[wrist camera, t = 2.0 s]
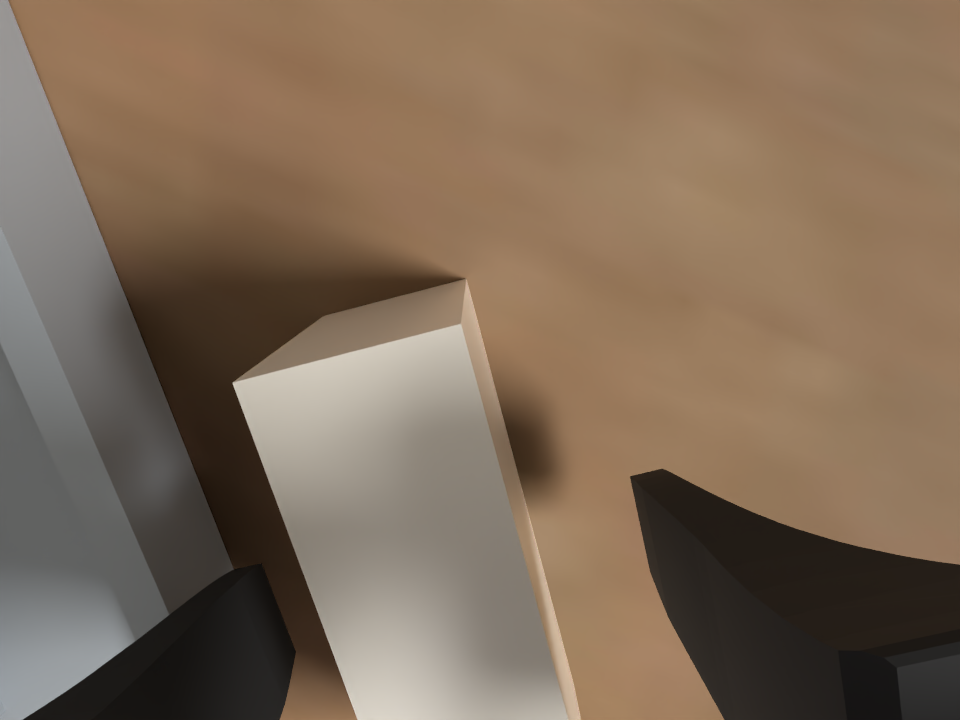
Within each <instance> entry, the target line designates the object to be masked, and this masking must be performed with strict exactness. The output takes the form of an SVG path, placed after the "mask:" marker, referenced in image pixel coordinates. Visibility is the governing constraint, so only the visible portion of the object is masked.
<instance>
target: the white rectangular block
mask: <svg viewBox="0 0 960 720" xmlns="http://www.w3.org/2000/svg"><path fill="white" fill-rule="evenodd" d="M233 386H234V389H235V391H236V394H237V397H238V399H239V402H240V405H241V407H242V410H243V413H244V415H245V418H246V421H247V424H248V426H249V429H250V432H251V434H252V437H253V440H254V442H255V445H256V448H257V450H258V453H259V456H260V459H261V461H262V464H263V467H264V469H265V472H266V475H267V477H268V480H269V483H270V485H271V488H272V491H273V494H274V496H275V499H276V502H277V504H278V507H279V510H280V512H281V515H282V518H283V520H284V523H285V526H286V528H287V531H288V534H289V537H290V539H291V542H292V545H293V547H294V550H295V553H296V555H297V558H298V561H299V563H300V566H301V569H302V572H303V574H304V577H305V580H306V582H307V585H308V588H309V590H310V593H311V596H312V598H313V601H314V604H315V607H316V609H317V612H318V615H319V617H320V620H321V623H322V625H323V628H324V631H325V633H326V636H327V639H328V642H329V644H330V647H331V650H332V652H333V655H334V658H335V660H336V663H337V666H338V668H339V671H340V674H341V676H342V679H343V682H344V685H345V687H346V690H347V693H348V695H349V698H350V701H351V703H352V706H353V709H354V711H355V714H356V717H357V720H581V717H580V712H579V707H578V703H577V698H576V693H575V688H574V684H573V680H572V676H571V672H570V669H569V665H568V661H567V657H566V653H565V650H564V646H563V642H562V638H561V635H560V631H559V627H558V623H557V619H556V616H555V612H554V608H553V604H552V601H551V597H550V593H549V589H548V585H547V582H546V578H545V574H544V570H543V567H542V563H541V559H540V555H539V551H538V548H537V544H536V540H535V536H534V533H533V529H532V525H531V521H530V517H529V514H528V510H527V506H526V502H525V499H524V495H523V491H522V487H521V483H520V480H519V476H518V472H517V468H516V465H515V461H514V457H513V453H512V449H511V446H510V442H509V438H508V434H507V431H506V427H505V423H504V419H503V415H502V412H501V408H500V404H499V400H498V397H497V393H496V389H495V385H494V381H493V378H492V374H491V370H490V366H489V362H488V359H487V355H486V351H485V347H484V344H483V340H482V336H481V332H480V328H479V325H478V321H477V317H476V313H475V310H474V306H473V302H472V298H471V294H470V291H469V287H468V283H467V279H463V280H459V281H456V282H452V283H448V284H444V285H440V286H437V287H433V288H429V289H425V290H421V291H417V292H414V293H410V294H406V295H402V296H398V297H394V298H391V299H387V300H383V301H379V302H375V303H372V304H368V305H364V306H360V307H356V308H352V309H349V310H345V311H341V312H337V313H333V314H329V315H326V316H323V317H321V318H320V319H319V320H317V321H316V322H315V323H313V324H312V325H310V326H309V327H308V328H306V329H305V330H304V331H302V332H301V333H299V334H298V335H297V336H295V337H294V338H293V339H291V340H290V341H289V342H287V343H286V344H284V345H283V346H282V347H280V348H279V349H278V350H276V351H275V352H274V353H272V354H271V355H269V356H268V357H267V358H265V359H264V360H263V361H261V362H260V363H258V364H257V365H256V366H254V367H253V368H252V369H250V370H249V371H248V372H246V373H245V374H243V375H242V376H241V377H239V378H238V379H237V380H235V381H234V382H233Z"/></svg>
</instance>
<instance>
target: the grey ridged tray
mask: <svg viewBox="0 0 960 720" xmlns="http://www.w3.org/2000/svg"><path fill="white" fill-rule="evenodd" d="M231 570H234V569H233V566H232V564H231V561H230V558H229V556H228V553H227V551H226V548H225V546H224V543H223V541H222V538H221V536H220V533H219V531H218V528H217V526H216V523H215V521H214V518H213V516H212V513H211V511H210V508H209V506H208V503H207V501H206V498H205V495H204V493H203V490H202V488H201V485H200V483H199V480H198V478H197V475H196V473H195V470H194V468H193V465H192V463H191V460H190V458H189V455H188V453H187V450H186V448H185V445H184V443H183V440H182V438H181V435H180V432H179V430H178V427H177V425H176V422H175V420H174V417H173V415H172V412H171V410H170V407H169V405H168V402H167V400H166V397H165V395H164V392H163V390H162V387H161V385H160V382H159V380H158V377H157V375H156V372H155V369H154V367H153V364H152V362H151V359H150V357H149V354H148V352H147V349H146V347H145V344H144V342H143V339H142V337H141V334H140V332H139V329H138V327H137V324H136V322H135V319H134V317H133V314H132V312H131V309H130V306H129V304H128V301H127V299H126V296H125V294H124V291H123V289H122V286H121V284H120V281H119V279H118V276H117V274H116V271H115V269H114V266H113V264H112V261H111V259H110V256H109V254H108V251H107V249H106V246H105V244H104V241H103V238H102V236H101V233H100V231H99V228H98V226H97V223H96V221H95V218H94V216H93V213H92V211H91V208H90V206H89V203H88V201H87V198H86V196H85V193H84V191H83V188H82V186H81V183H80V181H79V178H78V175H77V173H76V170H75V168H74V165H73V163H72V160H71V158H70V155H69V153H68V150H67V148H66V145H65V143H64V140H63V138H62V135H61V133H60V130H59V128H58V125H57V123H56V120H55V118H54V115H53V112H52V110H51V107H50V105H49V102H48V100H47V97H46V95H45V92H44V90H43V87H42V85H41V82H40V80H39V77H38V75H37V72H36V70H35V67H34V65H33V62H32V60H31V57H30V55H29V52H28V49H27V47H26V44H25V42H24V39H23V37H22V34H21V32H20V29H19V27H18V24H17V22H16V19H15V17H14V14H13V12H12V9H11V7H10V4H9V2H8V0H0V720H23V719H24V718H26V717H27V716H29V715H30V714H32V713H34V712H35V711H37V710H38V709H40V708H41V707H43V706H45V705H46V704H48V703H49V702H51V701H52V700H54V699H55V698H57V697H58V696H60V695H61V694H63V693H64V692H66V691H67V690H69V689H70V688H72V687H73V686H75V685H76V684H77V683H79V682H80V681H82V680H83V679H85V678H86V677H87V676H89V675H90V674H91V673H93V672H94V671H95V670H97V669H98V668H100V667H101V666H102V665H104V664H105V663H106V662H108V661H109V660H110V659H112V658H113V657H114V656H116V655H117V654H119V653H120V652H121V651H123V650H124V649H125V648H127V647H128V646H129V645H131V644H132V643H133V642H135V641H136V640H137V639H139V638H140V637H141V636H143V635H144V634H145V633H147V632H148V631H149V630H150V629H152V628H153V627H154V626H156V625H157V624H158V623H159V622H161V621H162V620H163V619H165V618H166V617H167V616H168V615H170V614H171V613H172V612H174V611H175V610H176V609H177V608H179V607H180V606H181V605H183V604H184V603H185V602H187V601H188V600H189V599H190V598H192V597H193V596H194V595H196V594H197V593H198V592H200V591H201V590H202V589H204V588H205V587H207V586H208V585H209V584H211V583H212V582H214V581H215V580H216V579H218V578H220V577H221V576H223V575H224V574H226V573H228V572H230V571H231Z"/></svg>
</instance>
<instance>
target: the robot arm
mask: <svg viewBox="0 0 960 720" xmlns="http://www.w3.org/2000/svg"><path fill="white" fill-rule="evenodd" d="M630 478H631V483H632V488H633V493H634V497H635V502H636V507H637V512H638V516H639V521H640V526H641V531H642V535H643V540H644V545H645V549H646V554H647V559H648V564H649V568H650V572H651V575H652V577H653V580H654V582H655V585H656V588H657V590H658V593H659V595H660V598H661V600H662V603H663V605H664V608H665V610H666V612H667V615H668V617H669V619H670V621H671V623H672V625H673V627H674V629H675V631H676V632H677V634H678V636H679V638H680V640H681V642H682V643H683V645H684V647H685V649H686V651H687V653H688V654H689V656H690V658H691V660H692V662H693V663H694V665H695V667H696V669H697V671H698V672H699V674H700V676H701V678H702V680H703V681H704V683H705V685H706V687H707V689H708V691H709V692H710V694H711V696H712V698H713V700H714V701H715V703H716V705H717V707H718V709H719V710H720V712H721V714H722V716H723V718H724V719H725V720H960V565H957V564H950V563H942V562H935V561H929V560H923V559H917V558H911V557H905V556H900V555H895V554H890V553H886V552H881V551H876V550H872V549H867V548H862V547H858V546H854V545H850V544H846V543H842V542H838V541H834V540H831V539H828V538H824V537H821V536H818V535H814V534H811V533H808V532H805V531H801V530H798V529H795V528H792V527H789V526H787V525H784V524H781V523H778V522H776V521H773V520H771V519H768V518H766V517H763V516H761V515H758V514H756V513H753V512H751V511H748V510H746V509H744V508H742V507H739V506H737V505H735V504H733V503H730V502H728V501H726V500H724V499H722V498H720V497H718V496H716V495H714V494H712V493H710V492H708V491H706V490H704V489H702V488H700V487H698V486H696V485H694V484H692V483H690V482H688V481H686V480H684V479H682V478H680V477H678V476H677V475H675V474H673V473H671V472H669V471H666V470H664V469H659V470H655V471H651V472H647V473H642V474H638V475H634V476H630ZM295 653H296V651H295V649H294V646H293V643H292V641H291V638H290V636H289V633H288V630H287V628H286V625H285V623H284V620H283V618H282V615H281V612H280V610H279V607H278V605H277V602H276V599H275V597H274V594H273V592H272V589H271V586H270V584H269V581H268V579H267V576H266V574H265V571H264V568H263V566H262V563H261V564H256V565H252V566H248V567H244V568H239V569H235V570H231V571H230V572H228V573H226V574H224V575H223V576H221V577H220V578H218V579H216V580H215V581H214V582H212V583H211V584H209V585H208V586H207V587H205V588H204V589H202V590H201V591H200V592H198V593H197V594H196V595H194V596H193V597H192V598H190V599H189V600H188V601H187V602H185V603H184V604H183V605H181V606H180V607H179V608H177V609H176V610H175V611H174V612H172V613H171V614H170V615H168V616H167V617H166V618H165V619H163V620H162V621H161V622H159V623H158V624H157V625H156V626H154V627H153V628H152V629H150V630H149V631H148V632H147V633H145V634H144V635H143V636H141V637H140V638H139V639H137V640H136V641H135V642H133V643H132V644H131V645H129V646H128V647H127V648H125V649H124V650H123V651H121V652H120V653H119V654H117V655H116V656H114V657H113V658H112V659H110V660H109V661H108V662H106V663H105V664H104V665H102V666H101V667H100V668H98V669H97V670H95V671H94V672H93V673H91V674H90V675H89V676H87V677H86V678H85V679H83V680H82V681H80V682H79V683H77V684H76V685H75V686H73V687H72V688H70V689H69V690H67V691H66V692H64V693H63V694H61V695H60V696H58V697H57V698H55V699H54V700H52V701H51V702H49V703H48V704H46V705H45V706H43V707H41V708H40V709H38V710H37V711H35V712H34V713H32V714H30V715H29V716H27V717H26V718H24V719H23V720H280V717H281V714H282V711H283V708H284V705H285V701H286V697H287V692H288V688H289V684H290V679H291V674H292V669H293V663H294V658H295Z"/></svg>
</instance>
